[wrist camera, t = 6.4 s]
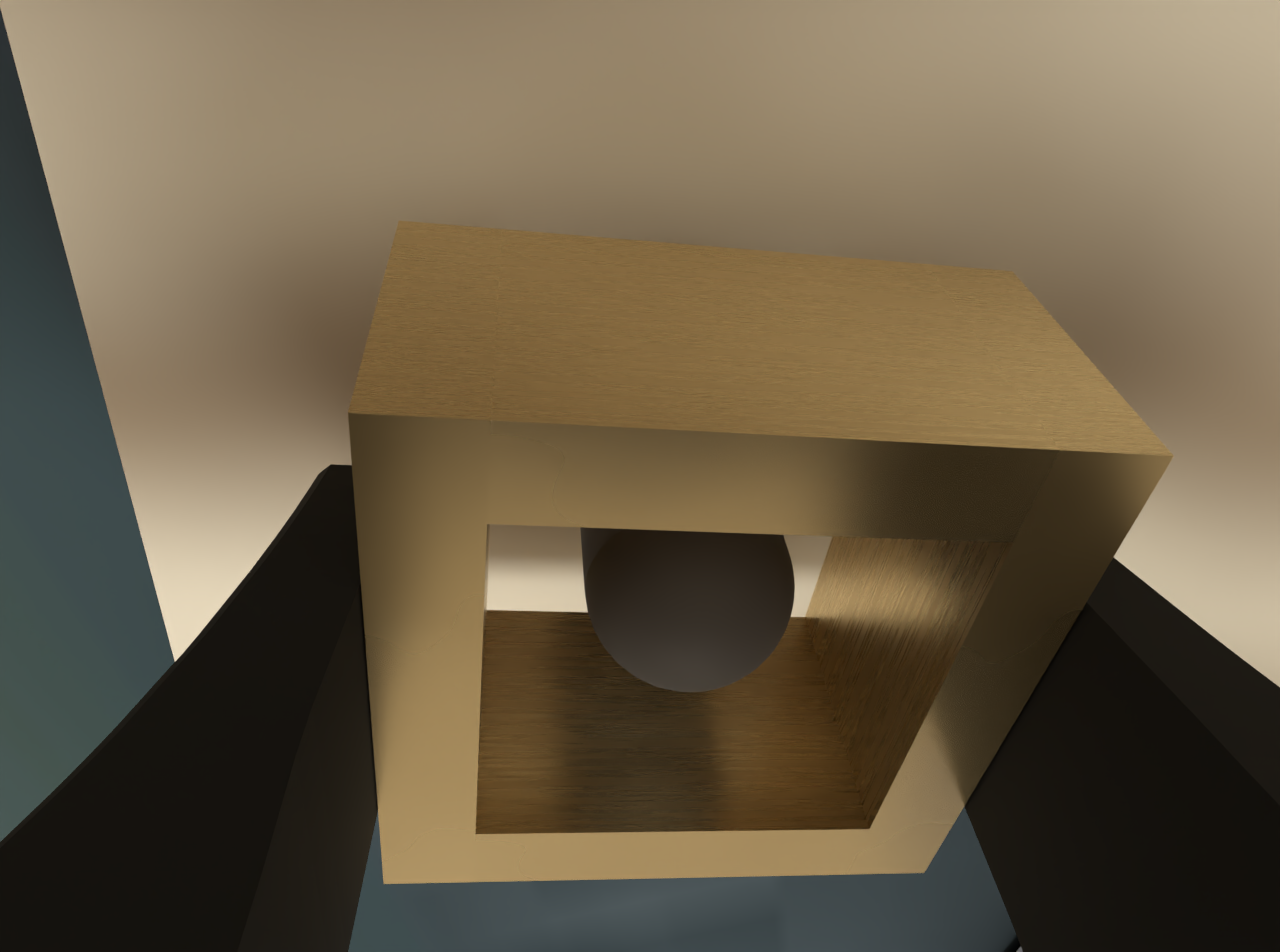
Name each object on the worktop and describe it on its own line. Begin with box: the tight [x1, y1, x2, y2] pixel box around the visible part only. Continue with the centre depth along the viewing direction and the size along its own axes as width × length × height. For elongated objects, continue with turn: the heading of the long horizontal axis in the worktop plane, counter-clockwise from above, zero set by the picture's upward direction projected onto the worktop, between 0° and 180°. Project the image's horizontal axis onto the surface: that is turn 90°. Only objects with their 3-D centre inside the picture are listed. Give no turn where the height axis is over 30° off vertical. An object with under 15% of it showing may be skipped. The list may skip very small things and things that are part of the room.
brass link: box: [348, 221, 1174, 884], centre depth 9 cm, size 6×6×3 cm
